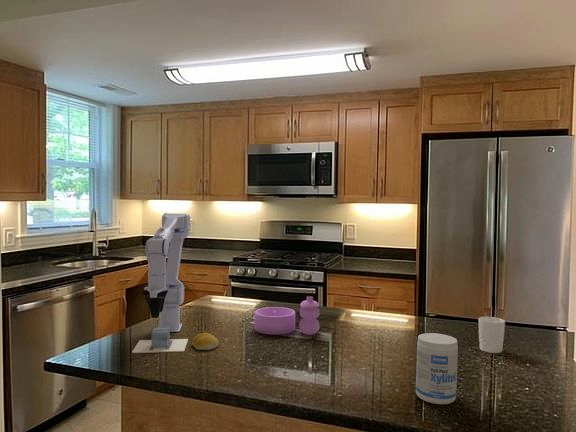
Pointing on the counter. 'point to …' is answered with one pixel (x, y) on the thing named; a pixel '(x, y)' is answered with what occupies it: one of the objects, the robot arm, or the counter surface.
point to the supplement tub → (436, 368)
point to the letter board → (173, 346)
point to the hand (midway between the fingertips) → (157, 314)
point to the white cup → (491, 334)
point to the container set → (287, 319)
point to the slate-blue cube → (160, 337)
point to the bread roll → (205, 341)
